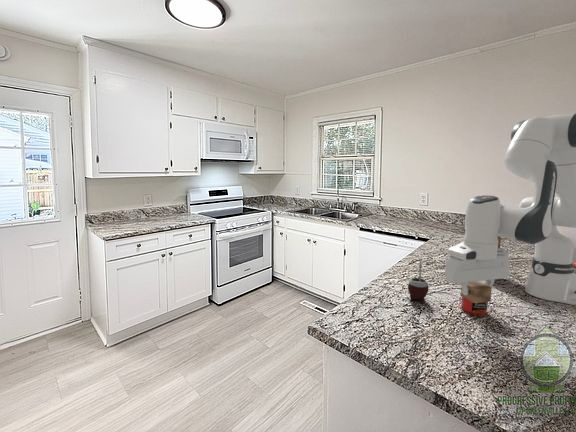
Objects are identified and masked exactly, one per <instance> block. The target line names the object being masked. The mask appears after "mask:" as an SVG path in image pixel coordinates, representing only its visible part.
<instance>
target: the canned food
mask: <svg viewBox="0 0 576 432" xmlns="http://www.w3.org/2000/svg"><path fill="white" fill-rule="evenodd" d="M479 282H481V283H483V284H485V282H486V280H483V281H479ZM488 304H489V302H482V303H473V302H471V301H470V300H468V299H466V298H464V297H462V296H461V303H460V307H461V309H462V311H463V312H465V313H467V314H470V315H473V316H479V317H481V316H485V315H486V314H487V313H488Z"/></svg>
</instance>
